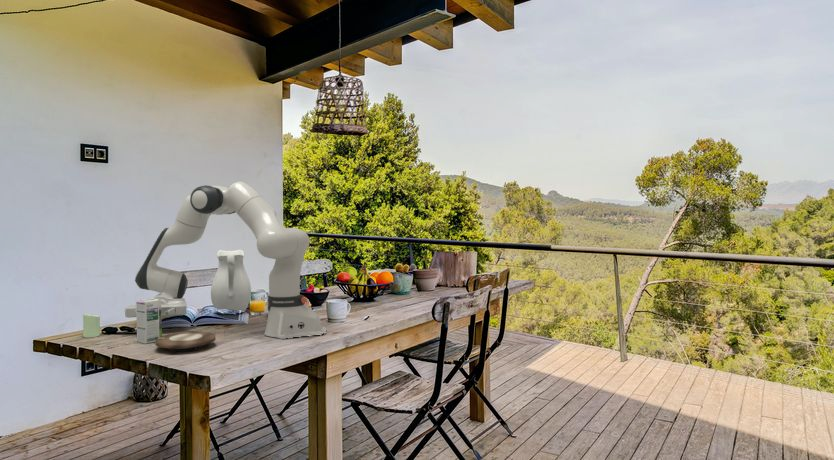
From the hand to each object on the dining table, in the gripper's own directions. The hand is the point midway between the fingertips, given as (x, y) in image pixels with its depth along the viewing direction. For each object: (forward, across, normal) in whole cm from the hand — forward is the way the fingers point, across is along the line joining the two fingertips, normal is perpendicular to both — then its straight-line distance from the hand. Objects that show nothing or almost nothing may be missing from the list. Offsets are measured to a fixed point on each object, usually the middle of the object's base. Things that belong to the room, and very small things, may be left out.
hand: (152, 314), depth 179 cm
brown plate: (+18, +13, +6) cm, 23 cm away
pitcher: (-38, +24, +9) cm, 46 cm away
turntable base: (+18, +13, +8) cm, 23 cm away
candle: (-8, -21, +8) cm, 24 cm away
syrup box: (+6, 0, +9) cm, 10 cm away
